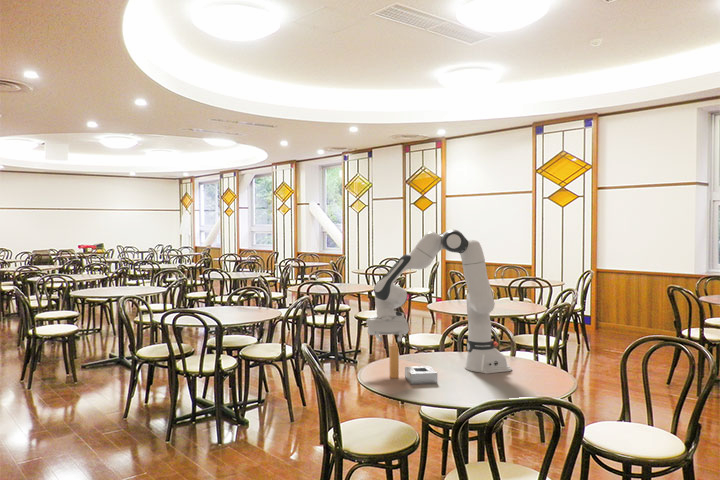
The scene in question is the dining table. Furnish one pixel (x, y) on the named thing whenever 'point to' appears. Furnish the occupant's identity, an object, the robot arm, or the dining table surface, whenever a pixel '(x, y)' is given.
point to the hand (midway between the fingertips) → (390, 341)
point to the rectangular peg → (394, 362)
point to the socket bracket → (421, 375)
